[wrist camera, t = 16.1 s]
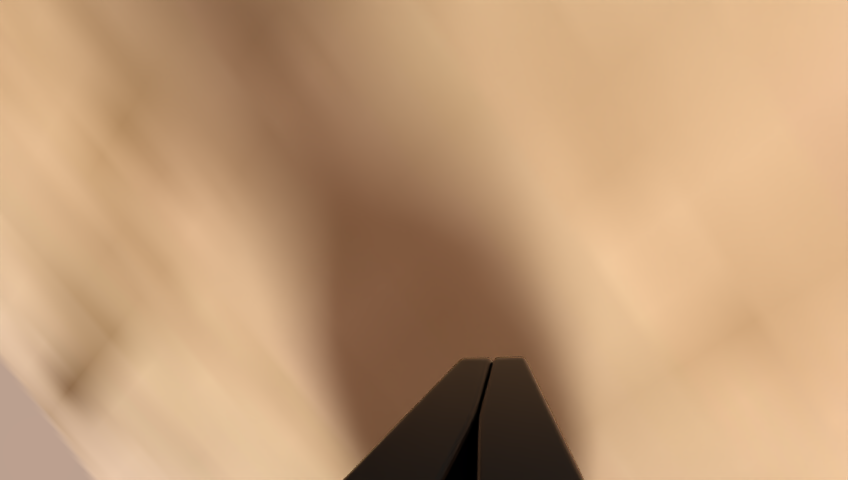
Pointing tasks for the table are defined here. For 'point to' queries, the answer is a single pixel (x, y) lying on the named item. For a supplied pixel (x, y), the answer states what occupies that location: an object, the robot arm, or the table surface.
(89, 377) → the table surface
